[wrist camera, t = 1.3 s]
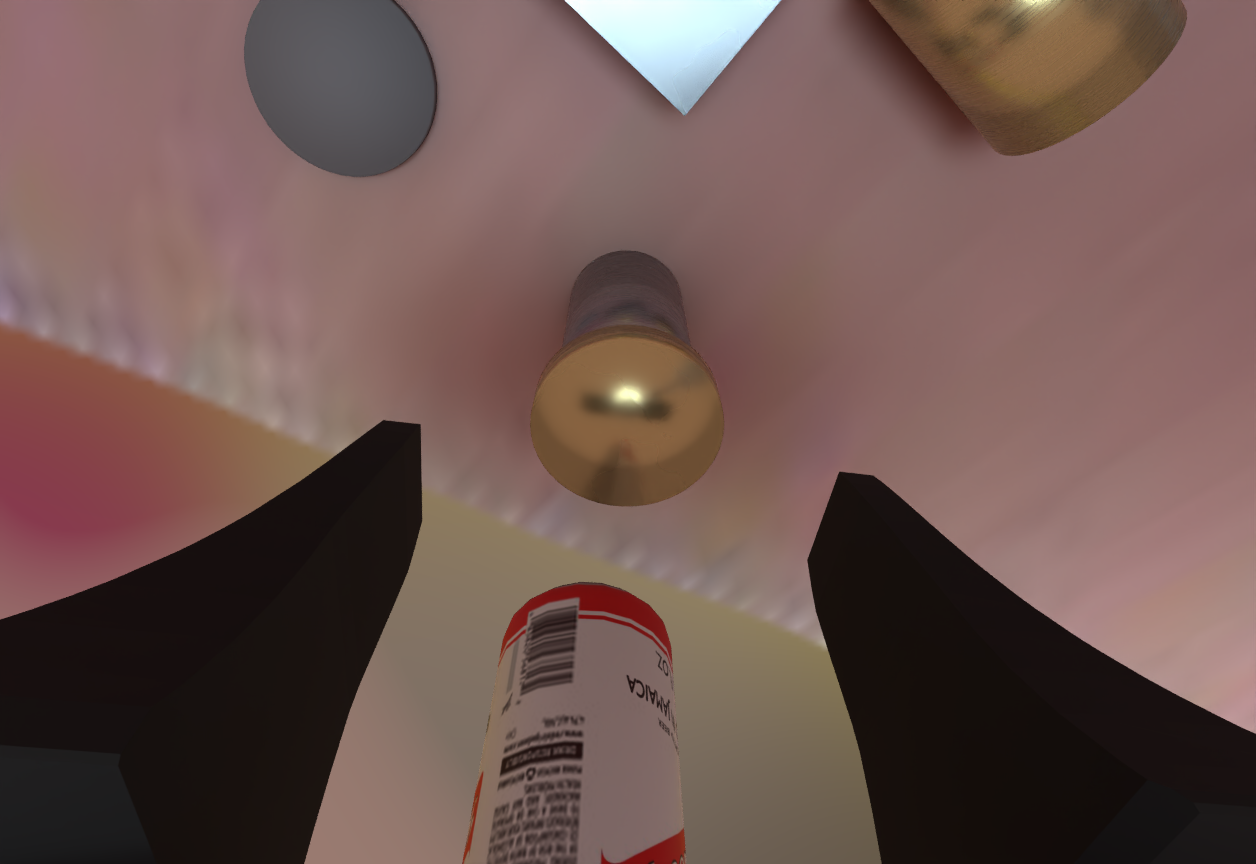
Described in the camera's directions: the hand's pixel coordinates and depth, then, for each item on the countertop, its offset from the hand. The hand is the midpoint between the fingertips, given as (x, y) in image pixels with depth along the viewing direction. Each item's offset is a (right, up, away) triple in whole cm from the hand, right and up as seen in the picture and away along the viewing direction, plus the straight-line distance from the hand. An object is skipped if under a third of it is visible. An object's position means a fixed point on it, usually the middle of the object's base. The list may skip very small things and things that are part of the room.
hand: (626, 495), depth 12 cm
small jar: (0, +5, +8) cm, 10 cm away
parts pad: (-7, +10, +5) cm, 13 cm away
